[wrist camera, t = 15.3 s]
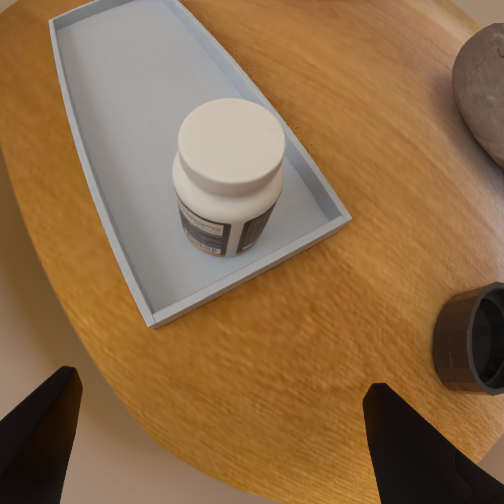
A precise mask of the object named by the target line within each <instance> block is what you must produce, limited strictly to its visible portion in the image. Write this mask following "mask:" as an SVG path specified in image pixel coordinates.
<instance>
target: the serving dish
mask: <svg viewBox="0 0 504 504" xmlns="http://www.w3.org/2000/svg"><path fill="white" fill-rule="evenodd" d="M49 27H50V34H51V40H52V46H53V52H54V58H55V63H56V68H57V73H58V78H59V82H60V87H61V91H62V96H63V100H64V104H65V108H66V112H67V116H68V120H69V123H70V127H71V131H72V134H73V138H74V141H75V145H76V148H77V152H78V155H79V158H80V161H81V165H82V168H83V171H84V174H85V177H86V180H87V183H88V186H89V189H90V192H91V195H92V197H93V200H94V203H95V206H96V209H97V211H98V214H99V217H100V219H101V222H102V225H103V227H104V230H105V232H106V235H107V237H108V240H109V242H110V245H111V247H112V250H113V252H114V255H115V257H116V259H117V262H118V264H119V266H120V269H121V271H122V273H123V275H124V278H125V280H126V282H127V284H128V287H129V289H130V291H131V293H132V295H133V297H134V300H135V302H136V304H137V306H138V308H139V310H140V312H141V314H142V316H143V318H144V320H145V322H146V324H147V326H148V327H149V328H152V329H157V328H159V327H161V326H163V325H165V324H167V323H169V322H171V321H173V320H175V319H177V318H179V317H181V316H182V315H184V314H186V313H188V312H190V311H192V310H194V309H196V308H198V307H200V306H202V305H203V304H205V303H207V302H209V301H211V300H213V299H215V298H217V297H219V296H221V295H222V294H224V293H226V292H228V291H230V290H232V289H234V288H236V287H237V286H239V285H241V284H243V283H245V282H247V281H249V280H251V279H252V278H254V277H256V276H258V275H260V274H262V273H264V272H265V271H267V270H269V269H271V268H273V267H275V266H276V265H278V264H280V263H282V262H284V261H286V260H288V259H289V258H291V257H293V256H295V255H297V254H298V253H300V252H302V251H304V250H306V249H308V248H309V247H311V246H313V245H315V244H317V243H318V242H320V241H322V240H324V239H326V238H327V237H329V236H331V235H333V234H335V233H336V232H338V231H340V230H341V229H342V228H343V227H344V226H345V225H346V224H347V223H349V222H350V221H351V220H352V217H351V215H350V214H349V212H348V211H347V209H346V208H345V206H344V205H343V203H342V202H341V200H340V198H339V197H338V195H337V194H336V192H335V191H334V190H333V188H332V187H331V185H330V184H329V182H328V181H327V179H326V178H325V176H324V175H323V173H322V172H321V171H320V169H319V168H318V166H317V165H316V163H315V162H314V161H313V159H312V158H311V156H310V155H309V154H308V152H307V151H306V149H305V148H304V147H303V145H302V144H301V143H300V141H299V140H298V139H297V137H296V136H295V135H294V133H293V132H292V131H291V129H290V128H289V127H288V125H287V124H286V123H285V121H284V120H283V119H282V117H281V116H280V115H279V114H278V112H277V111H276V110H275V108H274V107H273V106H272V105H271V103H270V102H269V101H268V100H267V98H266V97H265V96H264V95H263V93H262V92H261V91H260V90H259V89H258V87H257V86H256V85H255V84H254V82H253V81H252V80H251V79H250V78H249V77H248V75H247V74H246V73H245V72H244V71H243V69H242V68H241V67H240V66H239V65H238V64H237V62H236V61H235V60H234V59H233V58H232V57H231V56H230V54H229V53H228V52H227V51H226V50H225V49H224V48H223V47H222V45H221V44H220V43H219V42H218V41H217V40H216V39H215V38H214V37H213V36H212V35H211V33H210V32H209V31H208V30H207V29H206V28H205V27H204V26H203V25H202V24H201V23H200V22H199V21H198V20H197V19H196V18H195V17H194V16H193V15H192V14H191V12H190V11H189V10H188V9H187V8H186V7H185V6H184V5H183V4H182V3H181V2H180V1H179V0H95V1H93V2H90V3H87V4H85V5H82V6H80V7H77V8H75V9H73V10H70V11H68V12H66V13H63V14H61V15H59V16H57V17H55V18H53V19H50V20H49ZM224 98H237V99H244V100H247V101H251V102H254V103H256V104H259V105H261V106H262V107H264V108H266V109H267V110H268V111H270V112H271V113H272V114H273V115H274V116H275V117H276V118H277V119H278V121H279V122H280V124H281V126H282V128H283V130H284V133H285V138H286V150H285V154H284V157H283V161H282V165H283V170H284V182H283V188H282V191H281V194H280V196H279V198H278V200H277V203H276V205H275V207H274V209H273V211H272V213H271V215H270V218H269V220H268V222H267V224H266V226H265V228H264V230H263V232H262V234H261V236H260V237H259V239H258V241H257V242H256V243H255V244H254V246H252V247H251V248H250V249H249V250H247V251H246V252H244V253H242V254H240V255H237V256H234V257H228V258H218V257H214V256H210V255H207V254H205V253H203V252H201V251H200V250H198V249H197V248H195V247H194V246H193V245H192V244H191V242H190V241H189V240H188V238H187V236H186V235H185V232H184V230H183V226H182V222H181V218H180V213H179V208H178V203H177V198H176V194H175V189H174V185H173V181H172V167H173V162H174V159H175V156H176V153H177V151H178V134H179V130H180V127H181V125H182V123H183V121H184V120H185V118H186V117H187V116H188V115H189V114H190V113H191V112H192V111H193V110H194V109H196V108H197V107H199V106H201V105H203V104H205V103H207V102H210V101H213V100H217V99H224Z"/></svg>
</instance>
